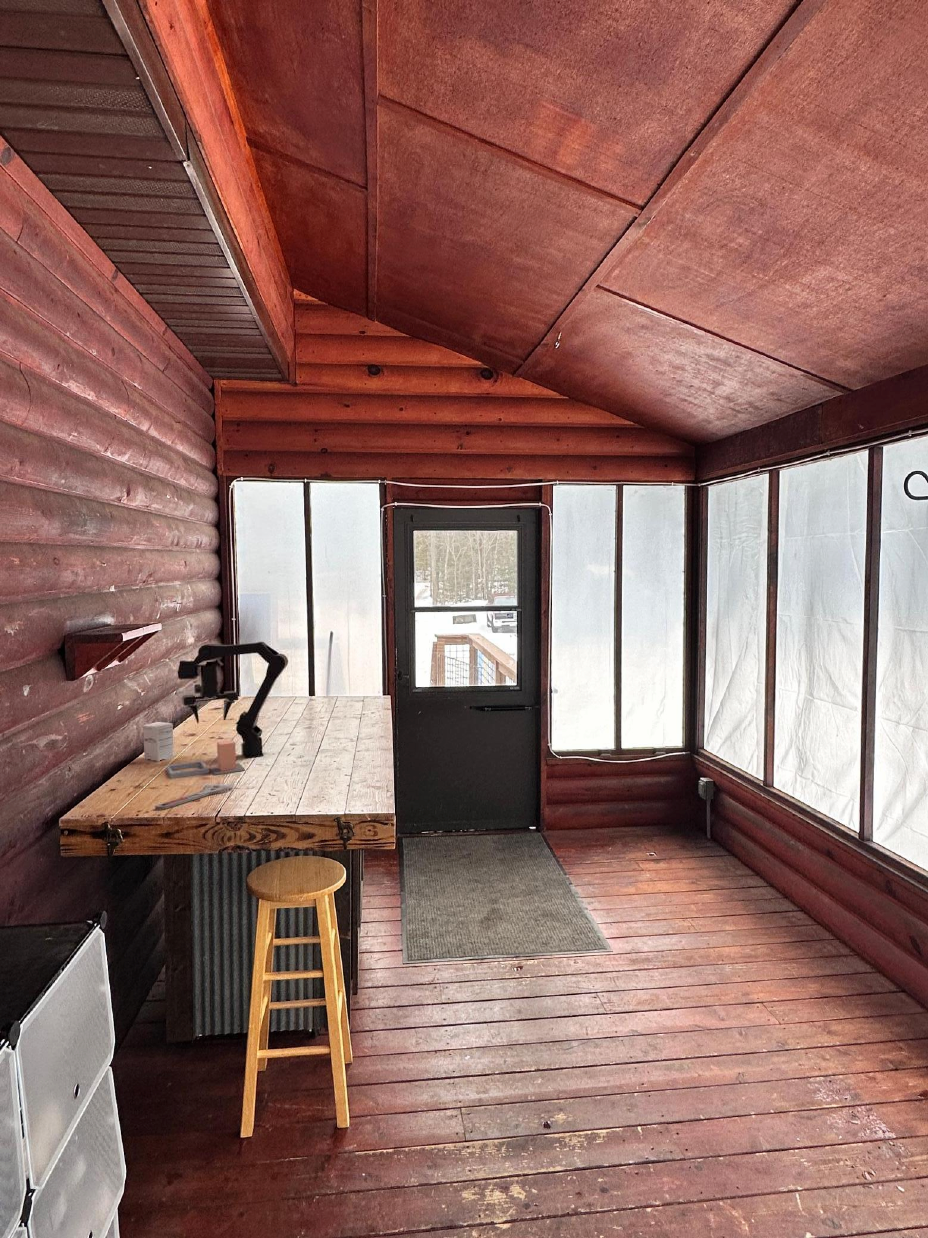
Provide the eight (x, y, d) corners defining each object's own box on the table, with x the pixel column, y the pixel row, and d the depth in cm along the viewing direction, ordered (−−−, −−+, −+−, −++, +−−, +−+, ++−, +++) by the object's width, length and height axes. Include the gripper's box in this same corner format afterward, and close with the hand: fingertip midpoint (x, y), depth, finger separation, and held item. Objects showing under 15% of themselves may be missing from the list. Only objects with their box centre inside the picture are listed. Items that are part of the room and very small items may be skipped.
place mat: (239, 764, 254) (239, 763, 254) (245, 770, 245) (245, 769, 245) (209, 768, 249) (209, 767, 249) (214, 775, 240) (214, 774, 240)
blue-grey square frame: (202, 765, 254) (202, 761, 254) (208, 773, 244) (208, 768, 243) (166, 770, 248) (166, 766, 248) (171, 778, 238) (171, 773, 238)
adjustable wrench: (145, 807, 210) (144, 800, 210) (225, 785, 230) (224, 778, 230) (159, 813, 205) (159, 806, 205) (240, 790, 225) (240, 783, 225)
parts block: (233, 765, 251) (232, 739, 250) (236, 769, 246) (235, 742, 246) (218, 768, 248) (216, 741, 248) (221, 771, 244) (219, 744, 243)
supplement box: (143, 759, 263) (142, 725, 262) (160, 755, 270) (159, 721, 269) (157, 762, 260) (156, 726, 259) (174, 757, 266) (173, 722, 266)
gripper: (231, 674, 275) (233, 715, 276) (178, 678, 266) (180, 720, 267) (237, 677, 265) (239, 720, 266) (183, 682, 256) (185, 726, 257)
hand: (211, 721), depth 264 cm, fingers open, 9 cm apart
